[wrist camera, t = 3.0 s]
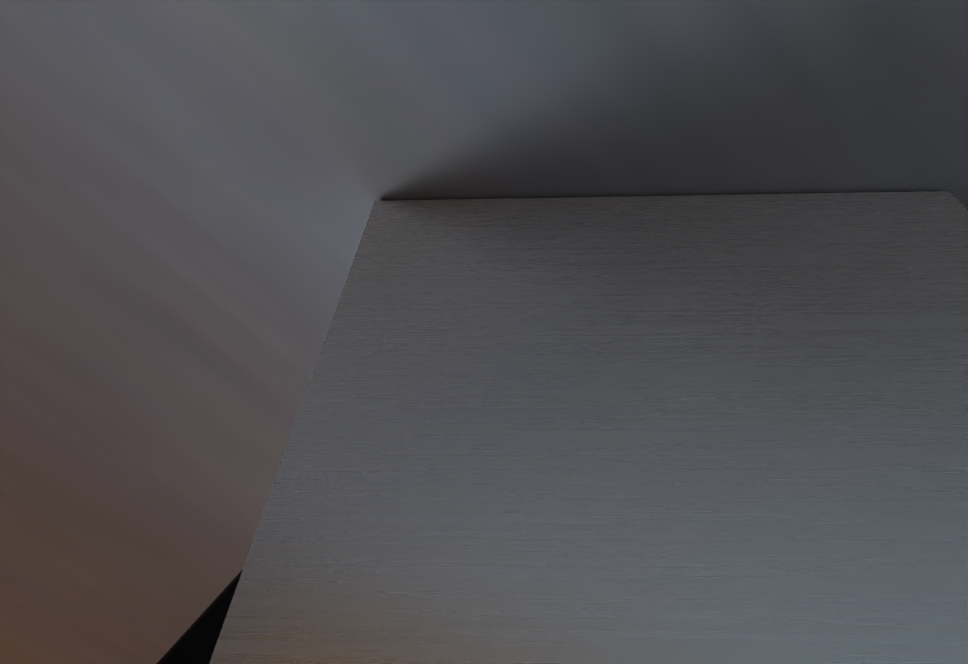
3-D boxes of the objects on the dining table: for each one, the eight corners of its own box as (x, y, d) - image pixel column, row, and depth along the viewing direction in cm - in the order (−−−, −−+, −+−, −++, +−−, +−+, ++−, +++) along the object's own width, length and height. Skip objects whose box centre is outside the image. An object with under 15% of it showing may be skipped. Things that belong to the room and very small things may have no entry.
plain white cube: (948, 190, 7) (1806, 1051, 2) (832, 573, 10) (1115, 1317, 5) (373, 200, 8) (96, 978, 3) (420, 569, 11) (327, 1267, 6)
